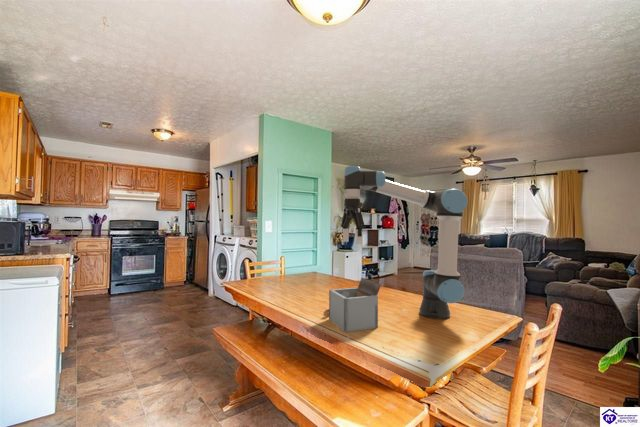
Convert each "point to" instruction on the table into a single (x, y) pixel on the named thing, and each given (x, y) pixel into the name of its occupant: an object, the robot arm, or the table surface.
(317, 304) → the table surface
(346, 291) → the basalt block
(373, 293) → the trapdoor
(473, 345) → the table surface
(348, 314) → the grey box
